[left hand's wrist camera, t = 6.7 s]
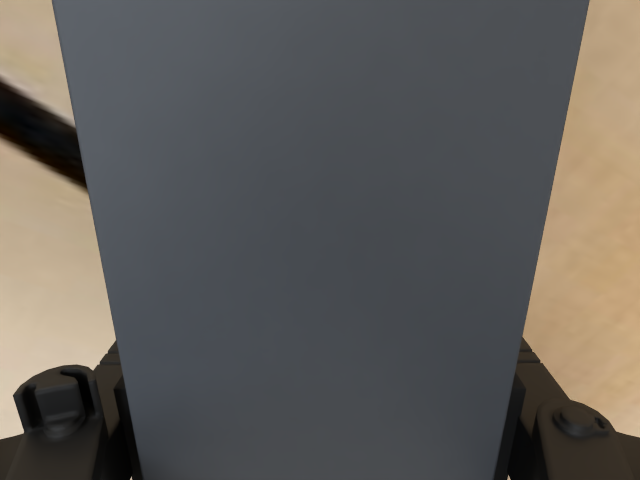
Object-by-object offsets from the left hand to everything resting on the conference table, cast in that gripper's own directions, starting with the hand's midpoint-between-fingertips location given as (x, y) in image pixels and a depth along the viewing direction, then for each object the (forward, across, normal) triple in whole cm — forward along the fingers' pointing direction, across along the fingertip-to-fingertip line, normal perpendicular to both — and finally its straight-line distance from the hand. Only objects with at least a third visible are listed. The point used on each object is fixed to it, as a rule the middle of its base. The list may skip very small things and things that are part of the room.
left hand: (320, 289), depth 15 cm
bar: (+1, 0, -35) cm, 35 cm away
